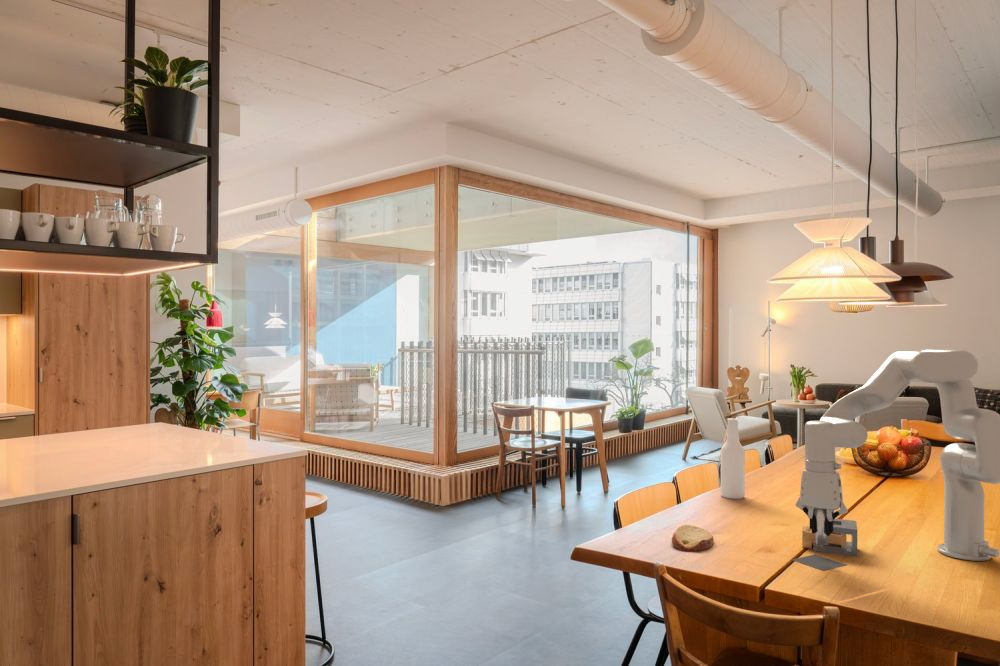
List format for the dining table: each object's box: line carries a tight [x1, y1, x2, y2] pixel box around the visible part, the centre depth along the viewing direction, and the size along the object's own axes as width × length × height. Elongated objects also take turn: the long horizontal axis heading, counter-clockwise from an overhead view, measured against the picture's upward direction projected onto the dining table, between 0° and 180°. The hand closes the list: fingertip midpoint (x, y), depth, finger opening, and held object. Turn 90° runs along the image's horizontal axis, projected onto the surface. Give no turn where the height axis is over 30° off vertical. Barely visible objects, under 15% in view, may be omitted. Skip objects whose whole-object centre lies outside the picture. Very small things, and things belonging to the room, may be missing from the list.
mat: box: [791, 554, 847, 572], centre depth 187 cm, size 10×10×1 cm
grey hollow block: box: [801, 518, 858, 558], centre depth 199 cm, size 14×10×8 cm
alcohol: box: [720, 417, 746, 500], centre depth 263 cm, size 9×9×30 cm
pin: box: [815, 508, 828, 545], centre depth 187 cm, size 3×3×10 cm
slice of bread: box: [671, 524, 714, 553], centre depth 207 cm, size 18×18×4 cm
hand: (821, 532), depth 187 cm, fingers closed on pin, 3 cm apart
